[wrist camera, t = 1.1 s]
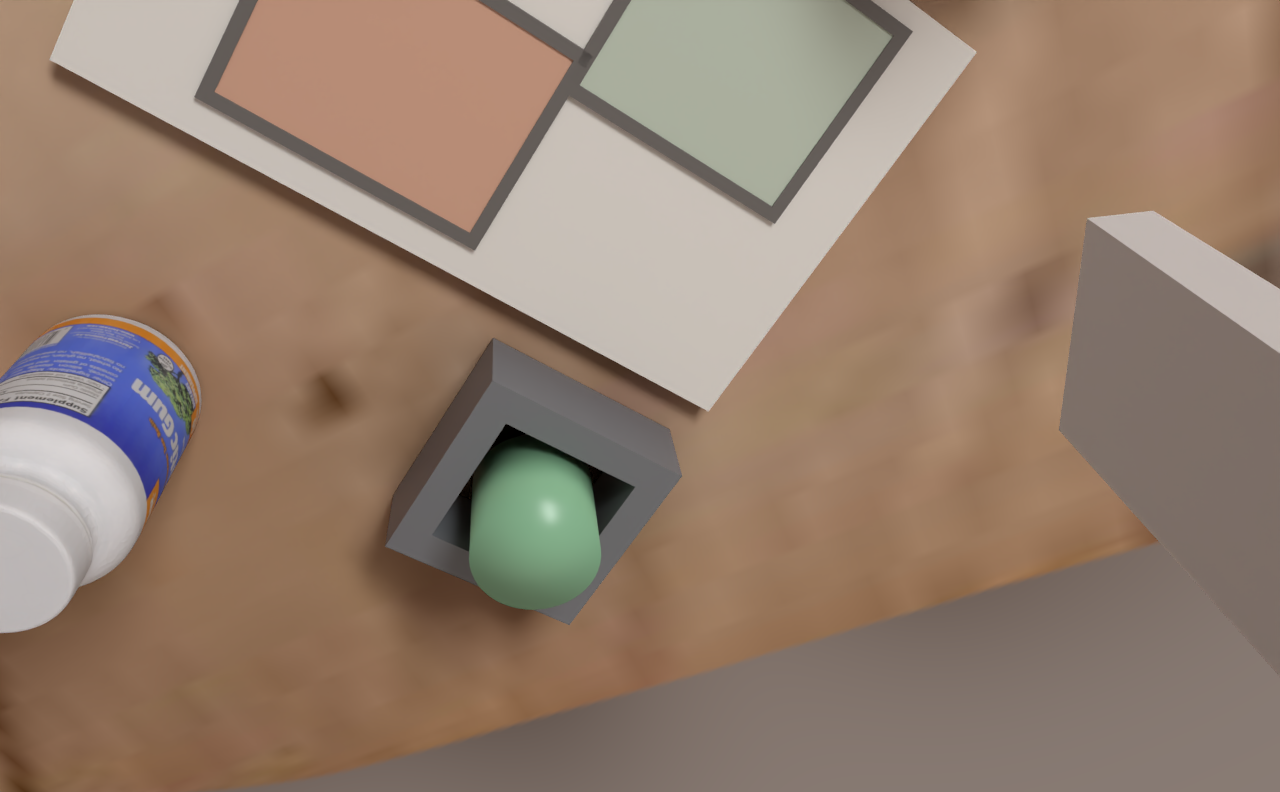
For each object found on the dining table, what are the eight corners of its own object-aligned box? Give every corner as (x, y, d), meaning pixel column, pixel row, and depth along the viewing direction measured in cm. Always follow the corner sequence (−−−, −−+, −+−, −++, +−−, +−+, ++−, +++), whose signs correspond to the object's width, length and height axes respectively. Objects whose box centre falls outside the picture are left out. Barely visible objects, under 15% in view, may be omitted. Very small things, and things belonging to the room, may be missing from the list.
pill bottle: (213, 458, 36) (124, 658, 28) (41, 457, 35) (-104, 662, 27) (194, 310, 34) (90, 479, 25) (9, 305, 33) (-163, 478, 24)
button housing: (393, 494, 38) (385, 546, 35) (493, 338, 35) (492, 380, 33) (565, 571, 40) (569, 625, 37) (669, 429, 38) (682, 475, 35)
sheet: (57, 55, 30) (47, 61, 29) (275, -477, 25) (269, -484, 24) (705, 402, 37) (709, 413, 37) (969, 48, 32) (978, 52, 32)
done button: (450, 505, 36) (445, 579, 33) (510, 415, 35) (511, 482, 31) (552, 551, 38) (557, 627, 34) (614, 466, 36) (626, 536, 33)
